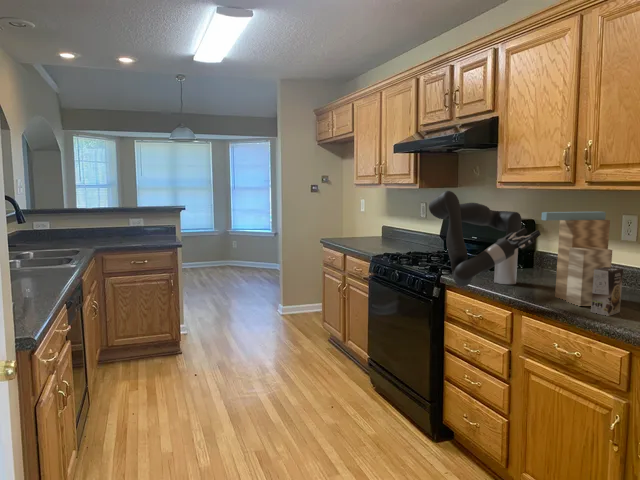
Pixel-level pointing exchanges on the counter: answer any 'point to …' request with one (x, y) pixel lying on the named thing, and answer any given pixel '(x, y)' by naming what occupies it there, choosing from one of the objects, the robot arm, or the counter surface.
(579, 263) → the beige tall block
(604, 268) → the coffee box
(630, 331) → the counter surface
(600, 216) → the bar
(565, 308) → the counter surface
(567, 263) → the wooden tall block
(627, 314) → the counter surface
